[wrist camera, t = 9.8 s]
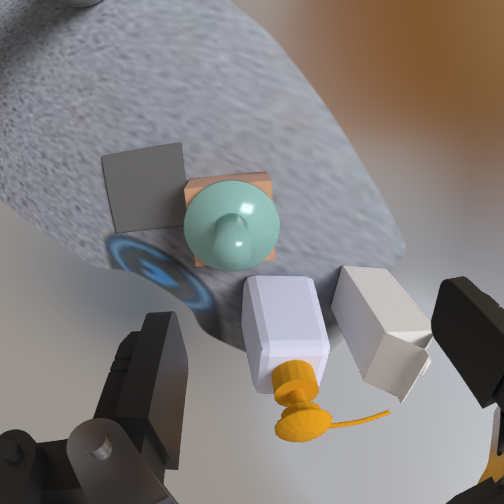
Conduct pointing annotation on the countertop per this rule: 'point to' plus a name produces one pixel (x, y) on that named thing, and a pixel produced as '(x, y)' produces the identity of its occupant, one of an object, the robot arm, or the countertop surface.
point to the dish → (254, 178)
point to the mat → (146, 187)
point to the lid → (231, 225)
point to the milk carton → (382, 329)
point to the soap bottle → (289, 352)
